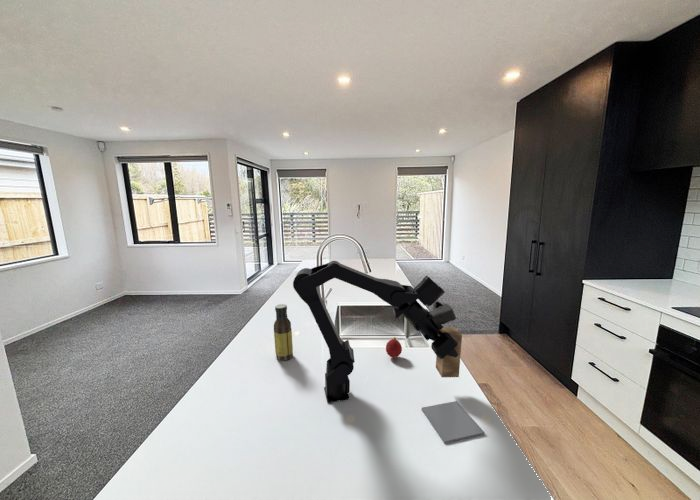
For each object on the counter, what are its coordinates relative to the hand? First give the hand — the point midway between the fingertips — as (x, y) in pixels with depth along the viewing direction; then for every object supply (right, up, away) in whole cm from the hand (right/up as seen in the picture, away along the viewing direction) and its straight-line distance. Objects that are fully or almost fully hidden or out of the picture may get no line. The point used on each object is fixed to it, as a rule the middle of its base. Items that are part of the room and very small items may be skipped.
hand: (452, 351), depth 79 cm
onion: (-14, -10, +19) cm, 26 cm away
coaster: (-4, -15, -10) cm, 18 cm away
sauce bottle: (-55, -10, +20) cm, 59 cm away
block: (-1, -7, +1) cm, 7 cm away
